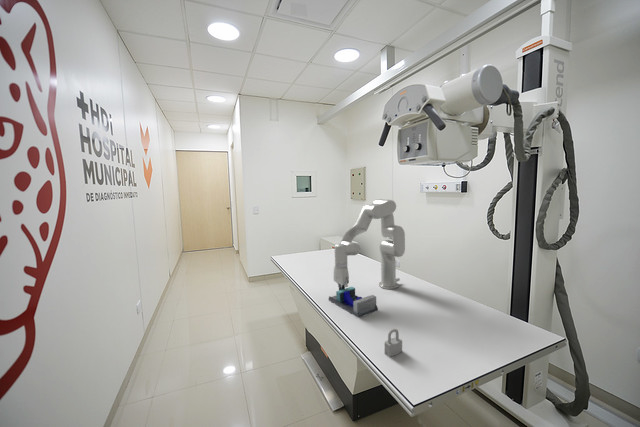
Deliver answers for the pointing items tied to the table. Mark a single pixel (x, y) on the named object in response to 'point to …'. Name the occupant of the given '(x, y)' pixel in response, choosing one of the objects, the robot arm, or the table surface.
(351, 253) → the robot arm
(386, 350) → the padlock
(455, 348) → the table surface
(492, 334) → the table surface
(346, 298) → the blue curved block
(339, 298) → the block
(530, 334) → the table surface
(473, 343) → the table surface
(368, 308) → the vise base
